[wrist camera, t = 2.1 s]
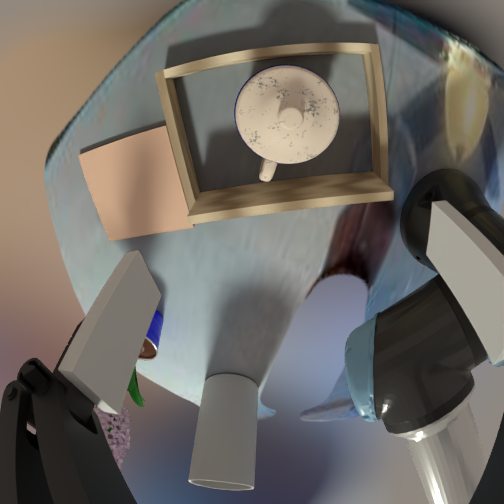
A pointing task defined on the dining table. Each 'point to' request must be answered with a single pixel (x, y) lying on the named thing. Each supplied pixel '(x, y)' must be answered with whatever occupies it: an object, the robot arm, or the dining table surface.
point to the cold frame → (290, 190)
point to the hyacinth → (115, 438)
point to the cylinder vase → (226, 434)
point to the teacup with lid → (286, 116)
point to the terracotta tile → (137, 185)
